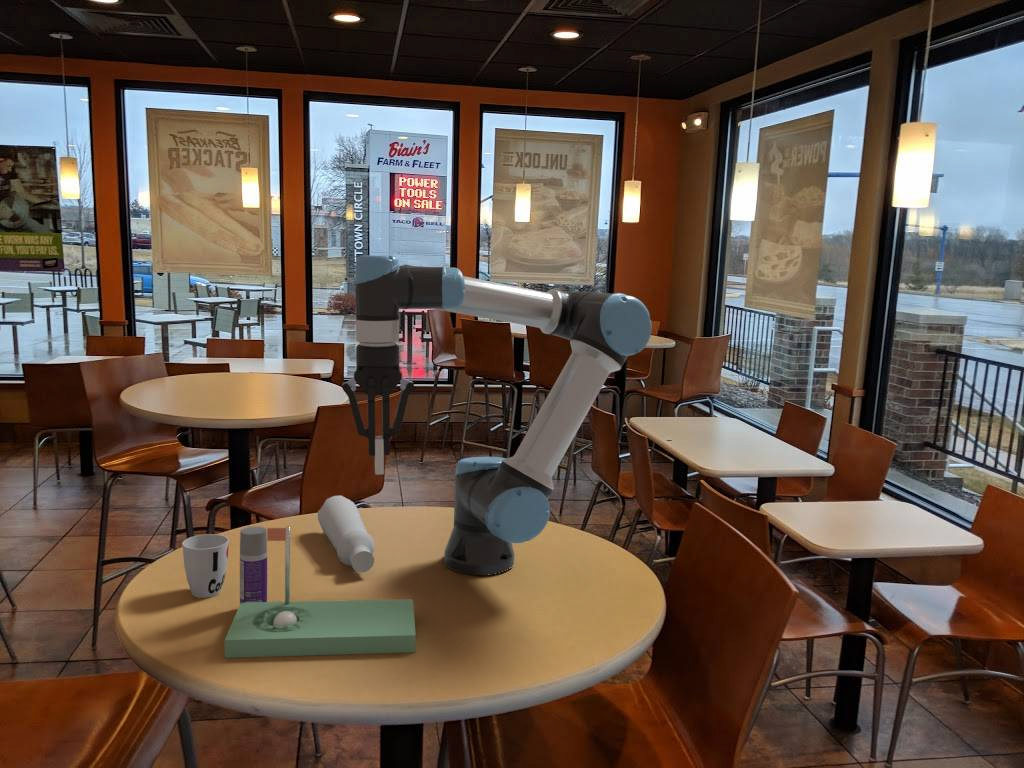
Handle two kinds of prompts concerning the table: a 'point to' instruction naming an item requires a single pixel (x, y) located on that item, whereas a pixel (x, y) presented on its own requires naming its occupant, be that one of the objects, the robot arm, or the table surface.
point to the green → (322, 628)
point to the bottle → (347, 533)
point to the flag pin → (284, 535)
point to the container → (253, 564)
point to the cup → (205, 563)
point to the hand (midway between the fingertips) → (379, 472)
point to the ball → (284, 619)
